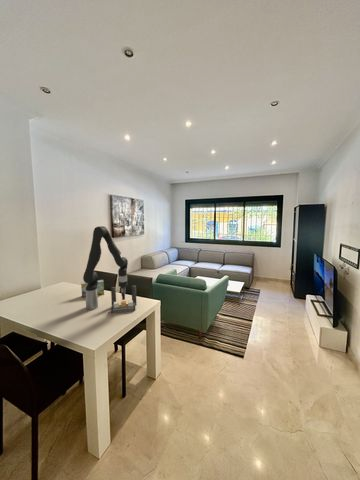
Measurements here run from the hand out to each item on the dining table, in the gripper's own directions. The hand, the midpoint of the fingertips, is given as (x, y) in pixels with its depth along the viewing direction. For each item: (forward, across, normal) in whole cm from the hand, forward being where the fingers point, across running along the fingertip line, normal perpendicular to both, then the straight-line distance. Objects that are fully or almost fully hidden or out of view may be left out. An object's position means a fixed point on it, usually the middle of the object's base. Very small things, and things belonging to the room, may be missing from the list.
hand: (123, 299), depth 171 cm
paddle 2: (+6, 0, +6) cm, 8 cm away
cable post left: (+10, -9, -9) cm, 16 cm away
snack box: (+10, -42, -33) cm, 54 cm away
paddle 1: (+6, 0, -6) cm, 8 cm away
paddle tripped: (+6, 0, 0) cm, 6 cm away
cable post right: (+10, -8, +9) cm, 16 cm away
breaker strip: (+10, 0, 0) cm, 10 cm away
